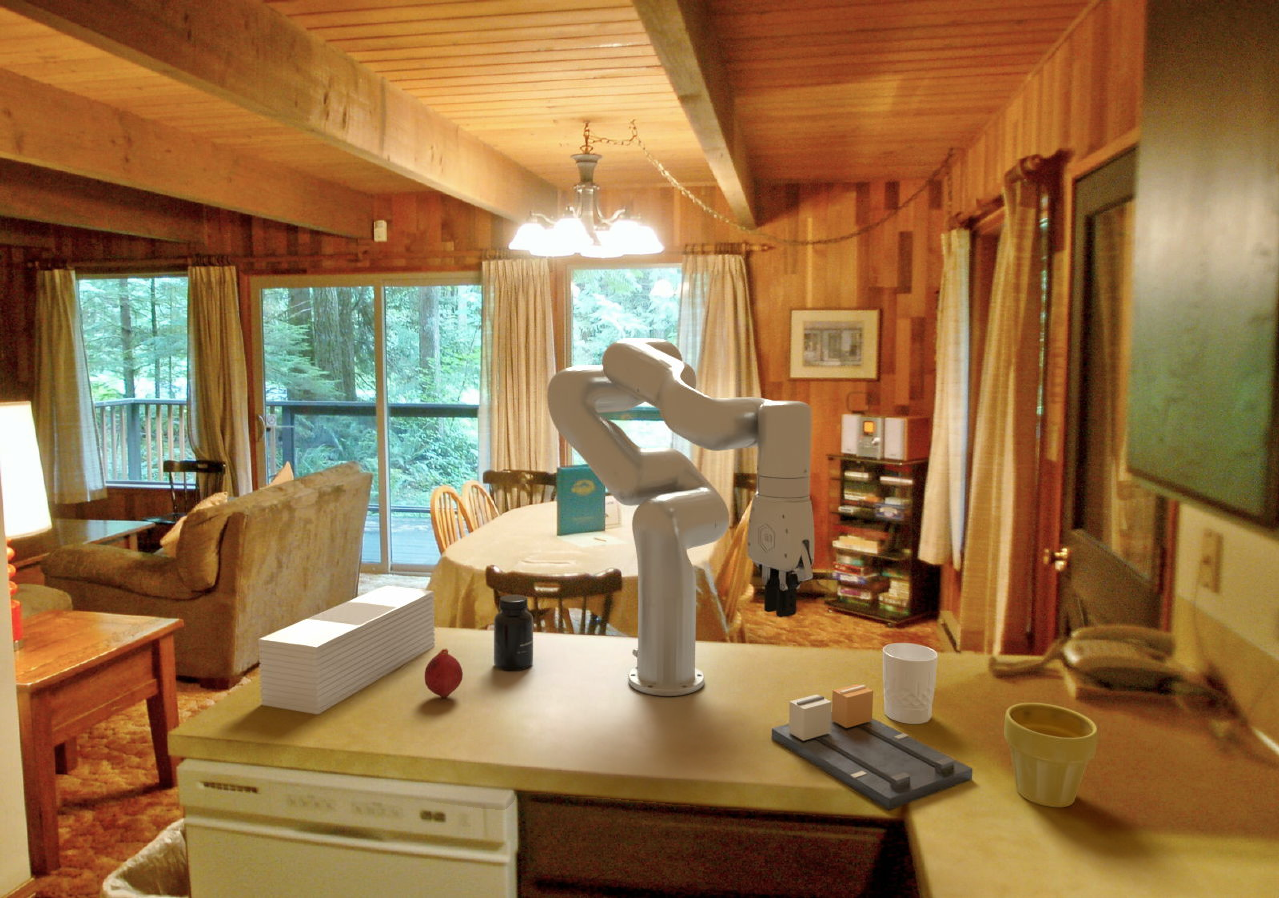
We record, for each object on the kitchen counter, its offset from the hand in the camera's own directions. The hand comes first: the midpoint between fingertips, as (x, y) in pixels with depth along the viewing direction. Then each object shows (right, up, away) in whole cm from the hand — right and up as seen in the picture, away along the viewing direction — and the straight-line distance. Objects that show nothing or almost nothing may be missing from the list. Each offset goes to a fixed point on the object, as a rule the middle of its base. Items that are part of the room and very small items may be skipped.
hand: (780, 611), depth 123 cm
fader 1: (+3, -16, -4) cm, 17 cm away
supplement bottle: (-42, -14, +26) cm, 52 cm away
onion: (-51, -16, +11) cm, 55 cm away
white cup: (+20, -17, +6) cm, 27 cm away
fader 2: (+10, -16, 0) cm, 19 cm away
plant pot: (+30, -20, -17) cm, 40 cm away
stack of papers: (-69, -15, +22) cm, 74 cm away
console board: (+10, -18, -8) cm, 22 cm away
